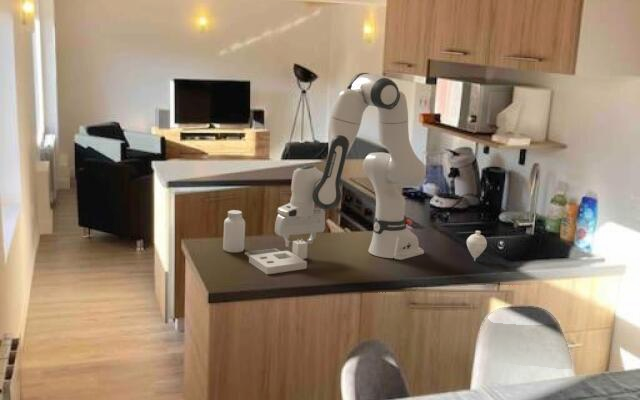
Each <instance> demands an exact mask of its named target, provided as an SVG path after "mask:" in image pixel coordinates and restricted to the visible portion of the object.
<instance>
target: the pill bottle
mask: <svg viewBox="0 0 640 400" xmlns="http://www.w3.org/2000/svg"><path fill="white" fill-rule="evenodd" d="M245 234H246V221H245V219H244V218H243V212H242V211H241V210H235V209H231V210H228V211H227V217H226V218H225V219H224V222H223V241H222V242H223V244H222V249H223V251H224V252H227V253H233V254H234V253H241V252H243V251H244V250H245V237H246V235H245Z"/></svg>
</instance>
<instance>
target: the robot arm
mask: <svg viewBox="0 0 640 400" xmlns="http://www.w3.org/2000/svg"><path fill="white" fill-rule="evenodd" d="M369 106H370V107H371V106H372V107H376V108H377V111H378V120H377V121H378V122H377V123H378V124H377V125H378V140H379V142H380V144H381V145H382V146H384V148H386V150H387V151H388V152H382V151H381V152H380V151H379V152H378V151H377V152H370V153H368V154H367V156H366V157H365V158H364V160H363V163H362V170H363V173H364V175H365V176H366V177H367V178H368V179H369V181H370V182H371V185H372V186H373V189H374V193H375V216H374V217H373V223H372V224H373V233H372V235H371V236H372V238H371V241H370V245H369V248H368V250H367V251H368V253H369V254H371V255H373V256H376V257H379V258H384V259H385V258H386V259H393V258H394V260H399V261H401V260H405V259H409V258H413V257H416V256H420V255H423V254H424V253H425V250H424V249H423V248H421V247H420V246H419V239H418V236H417V235H416V234H414V233H413V232H412V231H411V230H410V229H409V228H408V227H407V225H408V226H411V225H413V221H412V220H411V219H409V218H408V219H406V218H405V210H406V209H405V208H406V199H405V197H404V196H403V194H401V193H400V191H398V189H397V187H396V185H398V186H404V187H417V186H420V185H421V184H423V181H424V180H425V178H426V175H427V170H426V165H425V163H424V162H423V161H422V160H421V159H420V158H419V157H418V156H417V155H416V153H415V151H414V149H413V147H412V145H411V144H412V143H411V141H410V135H409V134H410V133H409V132H410V131H409V109H408V102H407V98H406V95H405V93H404V92H403V91H401V90H400V89H399V87H398V85H397V84H396V83H395V81H393V80H392V79H390V78H388V77H385V76H382V75H379V74H373V73H369V72H361V73H358V74H355V75H354V77H352V79H351V80H350V82H349V85H348V86H347V89H343V90H341V91H339V94H338V96H337V98H336V100H335V102H334V104H333V108H332V111H331V114H330V118H329V123H328V129H327V141H328V150H327V151H328V153H327V158H326V163H325V166H324V170H323V171H320V170H319V169H318V168H317V167H316V166H314V165H311V164H305V165H301V166H297V167H296V168H295V169H294V171H293V173H292V177H291V186H290V189H291V196H290V201H289V202H288V203H286V204H284V205H281V206H279V207H277V213H278V214H277V216H276V218H275V221H274V233H275V234H276V235H277V236H279V237H283V239H284V241H285V243H284V244H285V247H287V248H288V247H292V241H290V240H289V239H290V236H297V235H306V234H308V235H310V236H309V238H306V239H307V240H306V242H307V245H313V244H314V243H313V242H314V239H315V238H316V236H317V233H324V231H325V229H326V220H325V219H326V218H325V217H326V211H325V210H328V211H329V210H333V209H334V208H336V207H338V206H339V204H340V203H341V200H342V191H341V189H342V188H341V179H342V178H341V177H342V174H343V171H344V168H345V167H344V166H345V162H346V158H347V156H348V154H349V152H350V150H351V149H352V146H353V144H354V142H355V140H356V138H357V135H358V133H359V131H360V127H361V124H362V121H363V120H362V119H363V117H364V116H363V115H364V112H365V110H366V109H367V108H368V107H369ZM315 205H316V207H315Z"/></svg>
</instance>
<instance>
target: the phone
mask: <svg viewBox="0 0 640 400" xmlns="http://www.w3.org/2000/svg"><path fill="white" fill-rule="evenodd" d="M280 251H281V250H279V249H277V248H270V249H260V250H253V251H245V252H244V255H245V256H246V255H247V257H248V258H249V255H257V254H264V253H272V252H280Z"/></svg>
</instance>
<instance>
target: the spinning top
mask: <svg viewBox="0 0 640 400" xmlns="http://www.w3.org/2000/svg"><path fill="white" fill-rule="evenodd" d="M481 233H482V232H481V230H475V233H473V234H471V235H469V236H468V237H467V239H466V246H467V249H468V251H469V253H470V254H471V256H472V258H473V261H474V262H475V261H476V259H477V258H478V257H480V255H481V254H482V253H483V252H484V251H485V249H486V248H487V246H488V245H487V244H488V242H487V239H486V237H485V236H484V235H482V234H481Z"/></svg>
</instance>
